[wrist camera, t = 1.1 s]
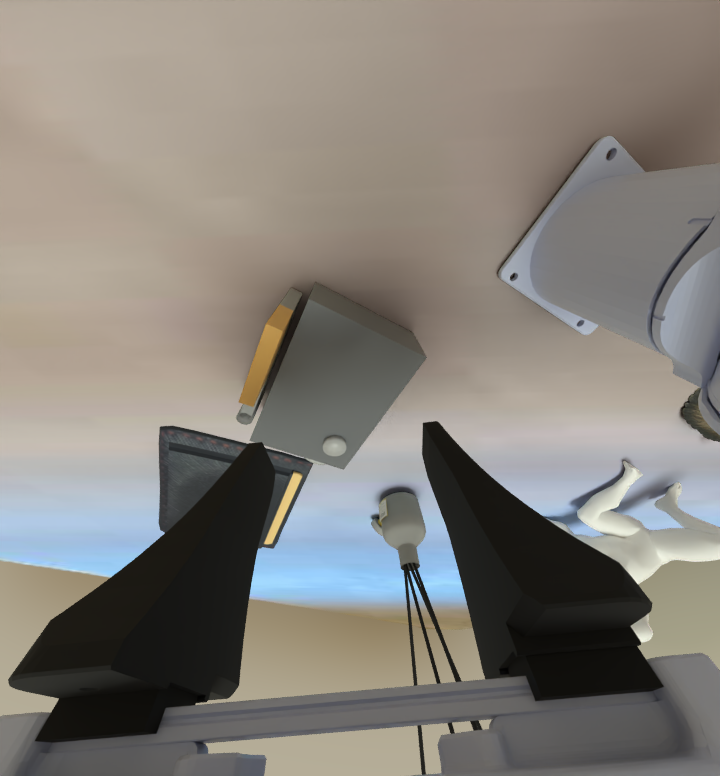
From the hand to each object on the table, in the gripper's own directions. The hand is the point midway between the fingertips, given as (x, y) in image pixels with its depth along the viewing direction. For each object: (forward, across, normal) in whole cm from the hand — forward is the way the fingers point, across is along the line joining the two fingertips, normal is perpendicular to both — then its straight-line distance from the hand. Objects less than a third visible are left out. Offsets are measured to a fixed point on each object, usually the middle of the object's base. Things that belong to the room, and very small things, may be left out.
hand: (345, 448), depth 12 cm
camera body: (+10, +1, +2) cm, 11 cm away
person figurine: (+11, -29, +28) cm, 42 cm away
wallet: (+11, +16, +17) cm, 26 cm away
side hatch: (+10, +5, -1) cm, 11 cm away
